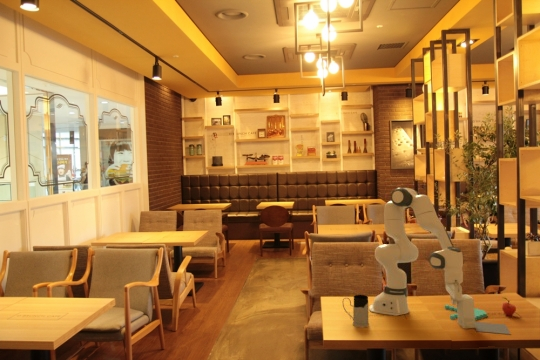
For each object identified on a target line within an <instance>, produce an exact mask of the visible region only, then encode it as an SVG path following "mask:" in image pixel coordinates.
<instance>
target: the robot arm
mask: <svg viewBox="0 0 540 360" xmlns="http://www.w3.org/2000/svg"><path fill="white" fill-rule="evenodd" d="M410 208H411V209H412V210H413V213H414V216H415V220H416V223H417V224H418V226H419V227H420V228H421V229H422V230H424V231H426V232H427V231H428V232H429V233H432V234H433V235H434V236H435V237H436V238H437V240H438V241H439V242H438V243H439V245H440V247H441V250H438V251H433V252H431V253H430V254H429V257H428V262H429V265H430V267H431V268H433V270H444V274H443V277H444V284H445V285H444V286H445V290H446V292H447V293H448V294H449V295H450V301H451V304H452V306H457V303H456V301H461V300H462V295H463V287H462V285H461V284H462V283H463V282H464V272H463V266H464V256H463V251H462V250H461V249H460V248H459V247H456V246H454V244H453V242H452V240H451V238H450V235H449V233H448V231H447V229H446V227H445V225H444V224H443V222H441V220H440V218H439V217H438V215H437V212H436V210H435V207H434V204H433V202H432V201H431V198H430V197H429V196H428V195H427V194H419V192H418V191H417V190H415V189H414V188H409V187H397V188H394V189H393V190H392V191H391V194H390V201H388V202H386V203H385V204H384V209H383V210H384V211H383V220H384V221H383V222H384V231H385V234H386V236H388V237H390V238H392V239H393V241H394V243H388V244H387V243H386V244H381V245H378V246H377V247H376V248H375V249H374V258H375V260H376V261H377V262H378V263H379V264H380V265H381V266H382V267H383V269H384V270H385V275H386V284H383V285H382V292H380V294H378V295H377V296H375V297H374V299H373V303H372V304H370V305H369V307H368V311H370V312H371V313H376V314H382V315H383V314H384V315H389V316H397V317H398V316H400V315H406V314H408V313H409V312H410V309H409V304H408V298H407V297H408V286H407V273H406V272H405V271H404V270H403V269H402V268H399V267H398V264H402V263H403V264H405V263H411V262H412V263H413V262H414V261H417V259H418V258H419V254H420V253H419V249H418V247H417V245H416V244H414V243H413V242H412V241H410V240H411V239H409V238H408V236H407V233H406V227H405V219H404V211H405V210H407V209H410Z"/></svg>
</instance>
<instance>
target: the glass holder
mask: <svg viewBox="0 0 540 360" xmlns="http://www.w3.org/2000/svg"><path fill="white" fill-rule="evenodd" d="M345 299H348V301H349V303H350V307H353V311H352V312H353V313H352V314H353V316H352V315H351V314H350V313H349V312H348V311H347V309H346V308H345V305H344V304H345V303H342V307H343V309H344V312H345V313H347V315H348V316H349V317H350V318H352V321H353V322H352V326H353V327H355V328H367V326H368V327H369V326H370V323H369V296H367V295H365V294H355V295H353V305H352V301H351V299H350V298H349V297H344V298H343V299H342V301H344V300H345Z"/></svg>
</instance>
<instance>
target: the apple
mask: <svg viewBox="0 0 540 360" xmlns="http://www.w3.org/2000/svg"><path fill="white" fill-rule="evenodd" d="M503 299H504V300H506V301H507V302H503V303H502V306H501V307H502V308H501V309H502V311H503V313H504V315H505V316H509V317H512V316H513V315H514V314H515V312H516V310H517V308H516V306H515V305H514V304H512V303H510V300H508V298H507V297H503Z"/></svg>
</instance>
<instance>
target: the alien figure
mask: <svg viewBox="0 0 540 360" xmlns="http://www.w3.org/2000/svg"><path fill="white" fill-rule="evenodd" d="M454 306H455V305H449V304H444V310H449V311H453V312H454V313H453V314H450V315H449V319H450V320H456V319H458V316H457V307H454ZM474 312H475V322H478V320H481V319H484V318H487V317H488V314H487V312H486V311H485V309H480V308H475V307H474Z"/></svg>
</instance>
